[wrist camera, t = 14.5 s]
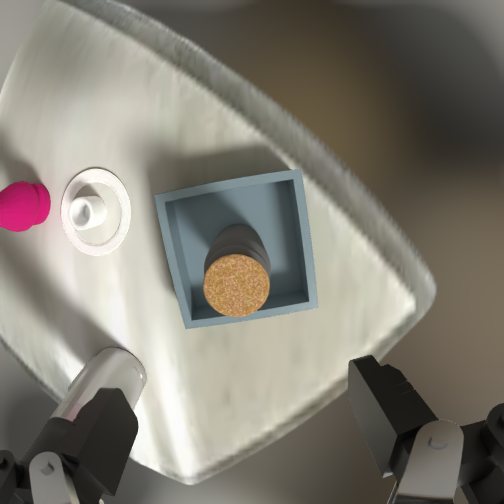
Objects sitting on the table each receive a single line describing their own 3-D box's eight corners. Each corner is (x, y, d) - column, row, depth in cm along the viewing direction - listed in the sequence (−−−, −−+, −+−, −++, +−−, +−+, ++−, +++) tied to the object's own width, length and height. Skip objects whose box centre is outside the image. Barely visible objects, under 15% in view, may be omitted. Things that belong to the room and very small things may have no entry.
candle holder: (120, 266, 36) (107, 275, 31) (57, 237, 34) (40, 243, 30) (144, 182, 33) (131, 182, 29) (75, 160, 32) (58, 158, 28)
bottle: (221, 274, 35) (207, 331, 20) (209, 229, 34) (185, 256, 19) (267, 264, 35) (284, 314, 20) (256, 218, 33) (268, 237, 19)
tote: (192, 312, 37) (185, 328, 32) (166, 194, 33) (154, 195, 29) (309, 292, 37) (318, 307, 32) (292, 171, 33) (300, 168, 28)
